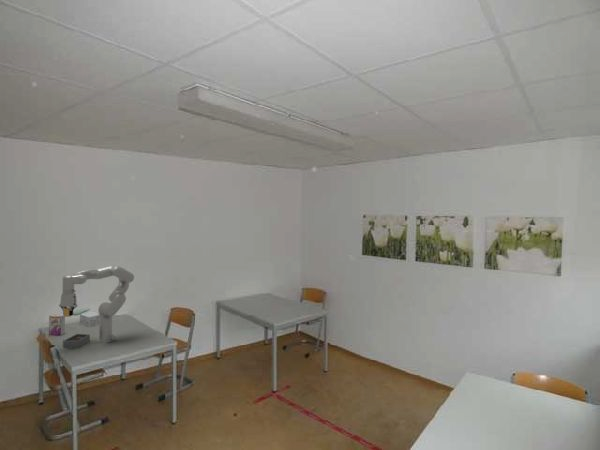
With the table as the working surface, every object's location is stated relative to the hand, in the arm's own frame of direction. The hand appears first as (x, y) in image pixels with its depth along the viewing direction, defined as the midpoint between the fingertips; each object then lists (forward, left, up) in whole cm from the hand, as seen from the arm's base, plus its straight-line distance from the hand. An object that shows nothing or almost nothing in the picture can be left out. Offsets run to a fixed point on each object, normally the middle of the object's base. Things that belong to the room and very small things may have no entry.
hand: (68, 314), depth 272 cm
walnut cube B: (0, -7, -26) cm, 27 cm away
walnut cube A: (0, -13, -26) cm, 29 cm away
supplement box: (+22, -62, -28) cm, 72 cm away
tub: (0, -10, -27) cm, 29 cm away
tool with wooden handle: (0, -8, -2) cm, 8 cm away
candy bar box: (+32, -31, -27) cm, 52 cm away
